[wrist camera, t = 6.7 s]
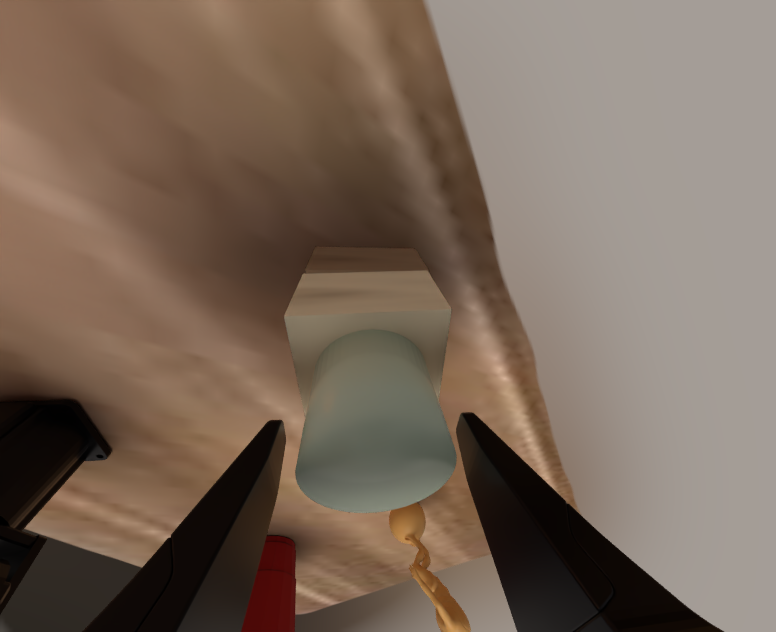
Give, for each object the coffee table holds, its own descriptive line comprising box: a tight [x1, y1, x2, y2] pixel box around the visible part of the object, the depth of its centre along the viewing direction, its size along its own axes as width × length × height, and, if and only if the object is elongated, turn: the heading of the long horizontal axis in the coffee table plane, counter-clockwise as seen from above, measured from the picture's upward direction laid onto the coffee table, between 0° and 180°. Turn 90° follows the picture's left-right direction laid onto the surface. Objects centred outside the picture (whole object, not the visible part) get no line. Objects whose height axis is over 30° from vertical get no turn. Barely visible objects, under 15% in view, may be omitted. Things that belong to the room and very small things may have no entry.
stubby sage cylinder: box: [295, 329, 456, 513], centre depth 10 cm, size 5×5×4 cm
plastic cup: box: [241, 536, 296, 632], centre depth 29 cm, size 11×11×12 cm
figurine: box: [389, 502, 471, 632], centre depth 26 cm, size 8×6×12 cm
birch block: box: [284, 270, 452, 417], centre depth 13 cm, size 6×6×4 cm
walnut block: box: [305, 246, 429, 274], centre depth 16 cm, size 6×6×4 cm
